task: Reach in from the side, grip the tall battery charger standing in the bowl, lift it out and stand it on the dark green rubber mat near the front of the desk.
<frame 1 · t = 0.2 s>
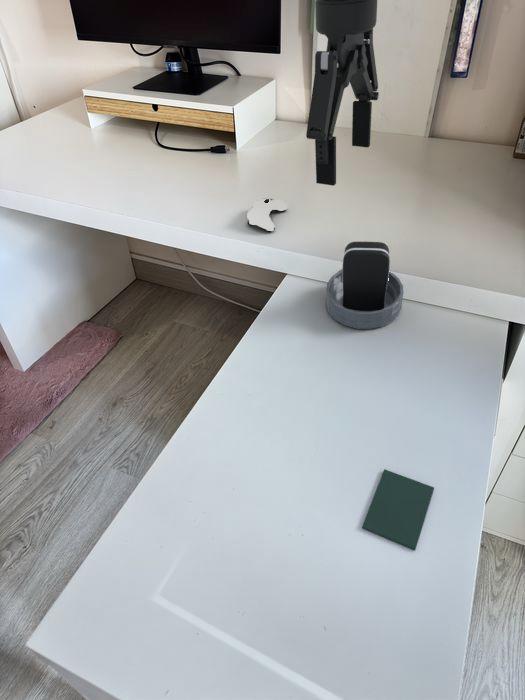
hand: (344, 163, 76), 20 cm above the table, tool pointing down, fingers open, 13 cm apart
game controller: (266, 220, 104), on the table
mat: (398, 508, 58), on the table
bowl: (363, 304, 83), on the table
battery charger: (363, 304, 83), resting on bowl
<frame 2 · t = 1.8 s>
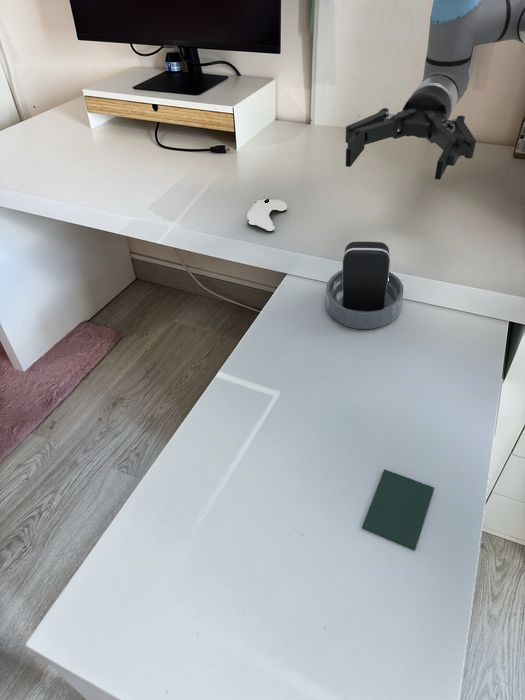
hand: (391, 164, 74), 20 cm above the table, tool horizontal, fingers open, 13 cm apart
nothing on the table moved.
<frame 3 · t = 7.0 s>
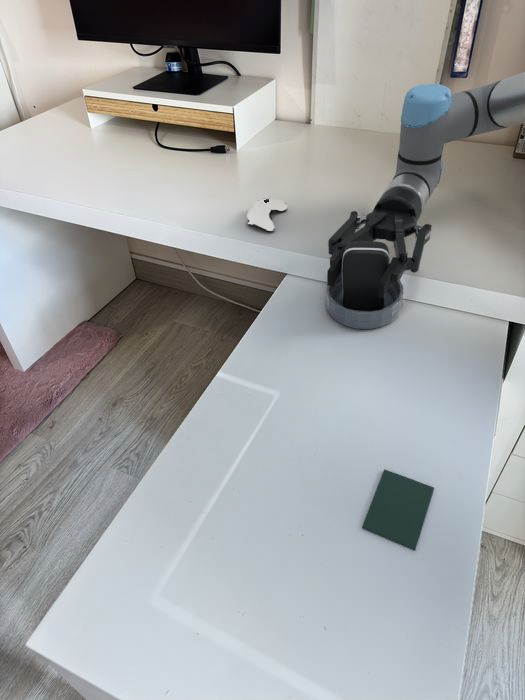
hand: (355, 284, 74), 8 cm above the table, tool horizontal, fingers closed on battery charger, 7 cm apart
battery charger: (363, 304, 83), resting on bowl, touching gripper
everything else where it was.
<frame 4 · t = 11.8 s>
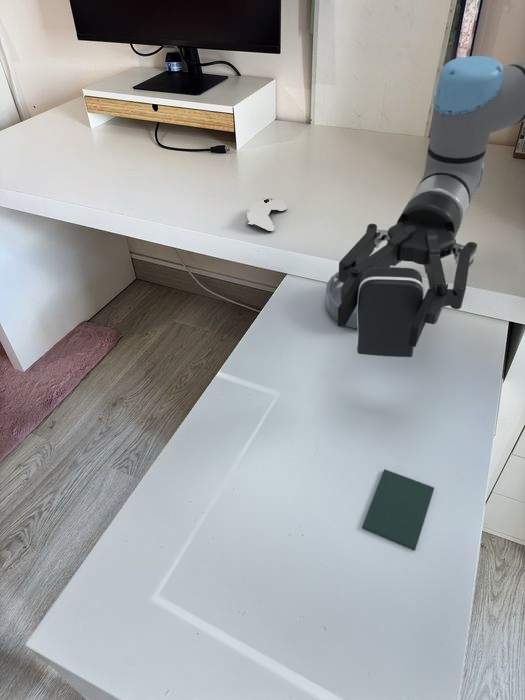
hand: (376, 327, 54), 18 cm above the table, tool horizontal, fingers closed on battery charger, 7 cm apart
battery charger: (384, 347, 62), point 10 cm above the table, touching gripper
everything else where it was.
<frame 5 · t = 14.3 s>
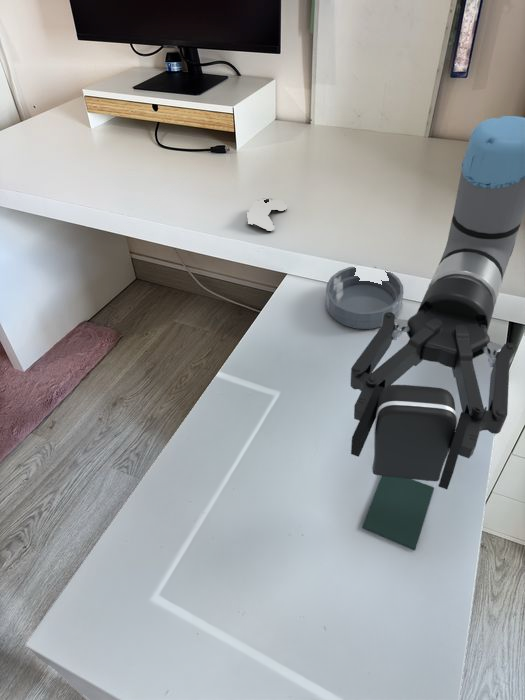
hand: (399, 462, 44), 16 cm above the table, tool horizontal, fingers closed on battery charger, 7 cm apart
battery charger: (404, 464, 52), point 8 cm above the table, touching gripper
everything else where it was.
when the fingers open (8 cm above the table, at t = 16.9 s): battery charger stays where it is, resting on mat.
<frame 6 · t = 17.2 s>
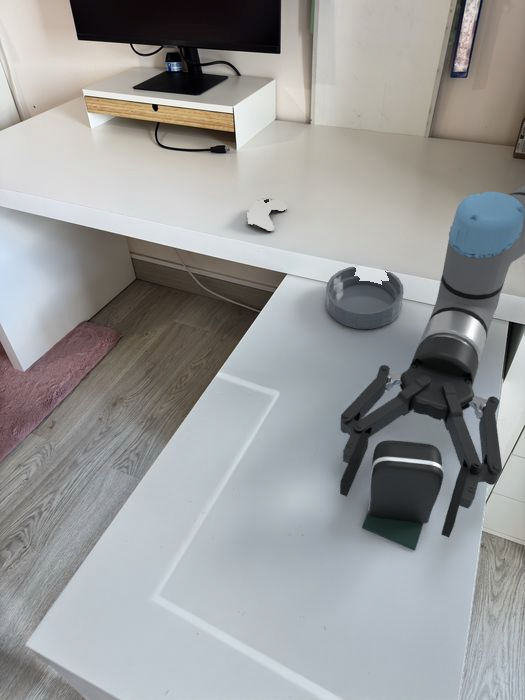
hand: (393, 508, 50), 8 cm above the table, tool horizontal, fingers open, 10 cm apart
battery charger: (397, 506, 58), resting on mat
everything else where it was.
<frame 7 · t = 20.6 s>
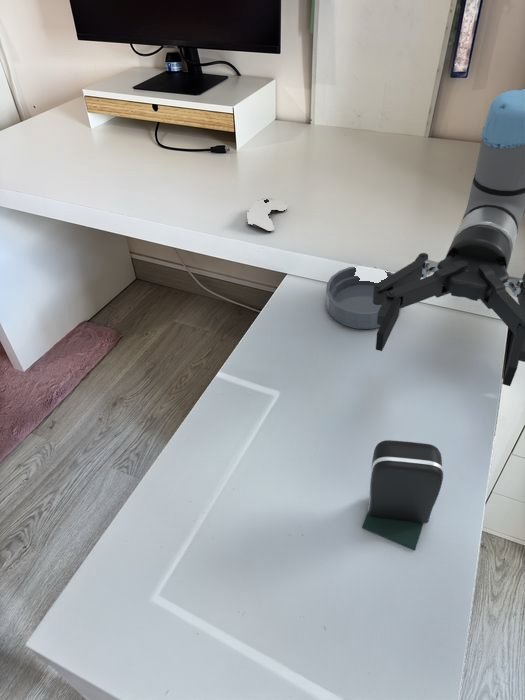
hand: (441, 358, 54), 15 cm above the table, tool horizontal, fingers open, 13 cm apart
nothing on the table moved.
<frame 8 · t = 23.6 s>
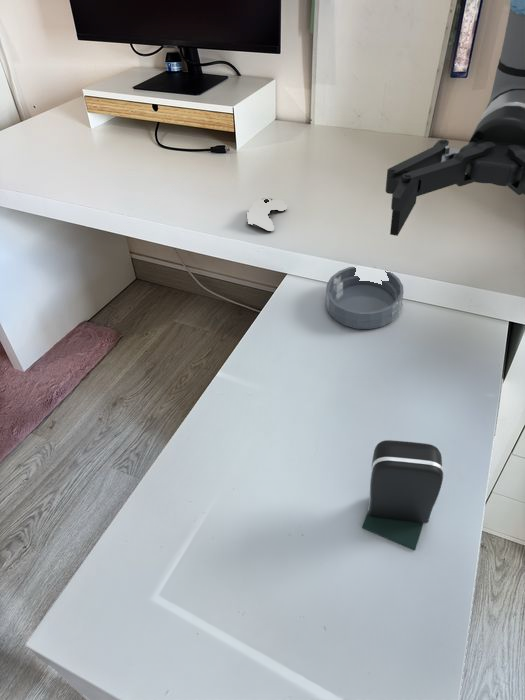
hand: (467, 236, 46), 28 cm above the table, tool horizontal, fingers open, 13 cm apart
nothing on the table moved.
at the end: battery charger inside the target area on the mat (0.1 cm from its centre), point 0.2 cm above the mat's base; battery charger tilted 0°; battery charger touching mat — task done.
